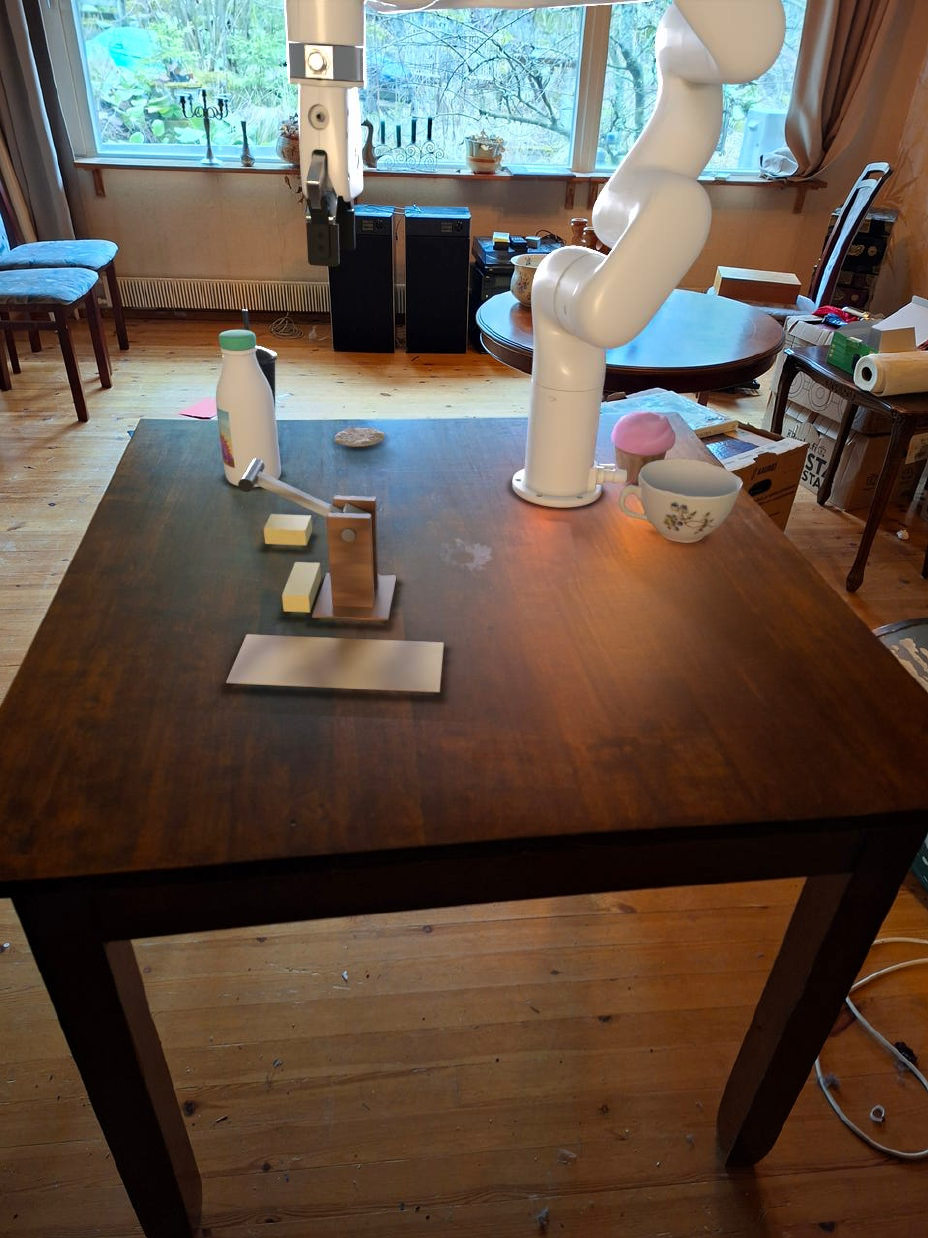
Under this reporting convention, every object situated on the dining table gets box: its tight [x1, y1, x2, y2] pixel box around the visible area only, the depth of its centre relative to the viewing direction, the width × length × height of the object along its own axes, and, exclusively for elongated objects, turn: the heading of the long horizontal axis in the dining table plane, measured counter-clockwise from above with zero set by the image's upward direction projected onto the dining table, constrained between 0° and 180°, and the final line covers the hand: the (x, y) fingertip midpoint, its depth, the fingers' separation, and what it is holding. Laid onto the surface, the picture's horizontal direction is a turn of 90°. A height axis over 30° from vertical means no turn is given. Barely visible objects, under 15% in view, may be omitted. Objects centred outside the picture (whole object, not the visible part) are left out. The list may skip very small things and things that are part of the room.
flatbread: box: [334, 427, 386, 448], centre depth 130 cm, size 8×8×1 cm
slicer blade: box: [237, 459, 369, 518], centre depth 84 cm, size 13×5×2 cm, turn 88°
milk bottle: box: [215, 329, 282, 488], centre depth 112 cm, size 8×8×20 cm
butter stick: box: [281, 561, 322, 613], centre depth 90 cm, size 3×7×3 cm, turn 178°
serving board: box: [225, 633, 445, 693], centre depth 81 cm, size 20×8×1 cm, turn 88°
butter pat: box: [263, 513, 313, 546], centre depth 101 cm, size 5×4×3 cm
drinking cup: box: [242, 309, 278, 408], centre depth 122 cm, size 8×8×20 cm
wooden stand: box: [311, 494, 398, 622], centre depth 88 cm, size 8×9×12 cm
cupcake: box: [610, 410, 676, 484], centre depth 119 cm, size 9×9×10 cm
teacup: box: [618, 457, 744, 544], centre depth 105 cm, size 15×12×8 cm
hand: (332, 256), depth 90 cm, fingers open, 9 cm apart
